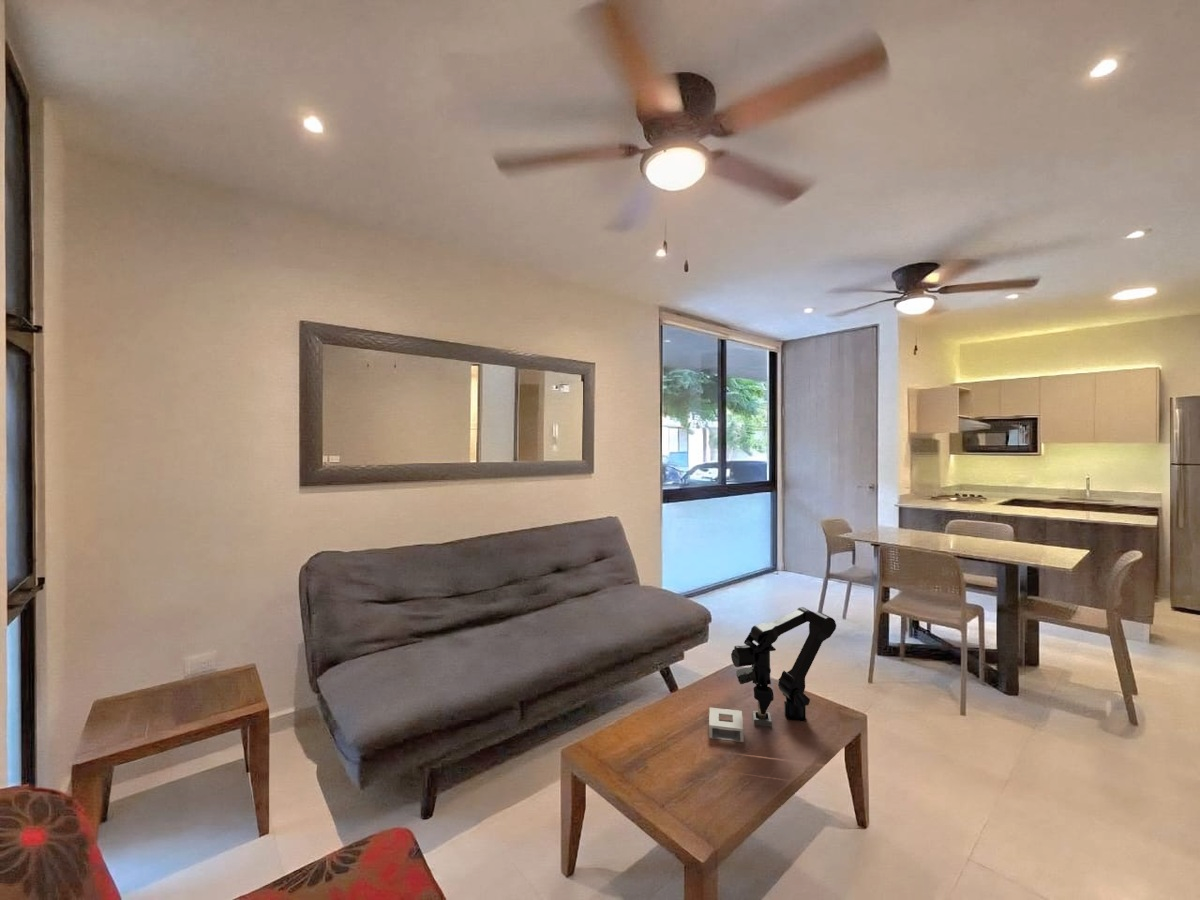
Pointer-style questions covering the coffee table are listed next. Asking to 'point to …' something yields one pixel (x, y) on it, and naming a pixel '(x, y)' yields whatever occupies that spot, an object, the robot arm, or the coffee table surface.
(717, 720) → the breaker box
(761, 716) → the beige rounded rod
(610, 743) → the coffee table surface
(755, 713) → the holder
